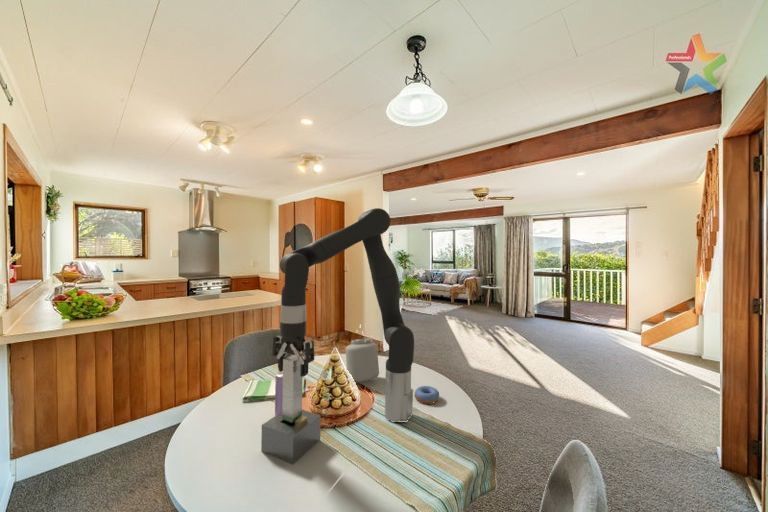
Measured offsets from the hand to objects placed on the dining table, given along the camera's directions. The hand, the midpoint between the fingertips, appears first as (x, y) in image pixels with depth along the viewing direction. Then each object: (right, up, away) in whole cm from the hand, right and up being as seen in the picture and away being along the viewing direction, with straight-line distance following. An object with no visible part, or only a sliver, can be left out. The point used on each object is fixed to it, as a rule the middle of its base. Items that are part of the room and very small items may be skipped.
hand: (292, 373), depth 89 cm
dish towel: (-18, -23, +37) cm, 47 cm away
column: (0, -13, 0) cm, 13 cm away
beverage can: (-9, -22, +17) cm, 30 cm away
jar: (+17, -23, +49) cm, 57 cm away
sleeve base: (0, -22, 0) cm, 22 cm away
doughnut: (+45, -23, +31) cm, 59 cm away
